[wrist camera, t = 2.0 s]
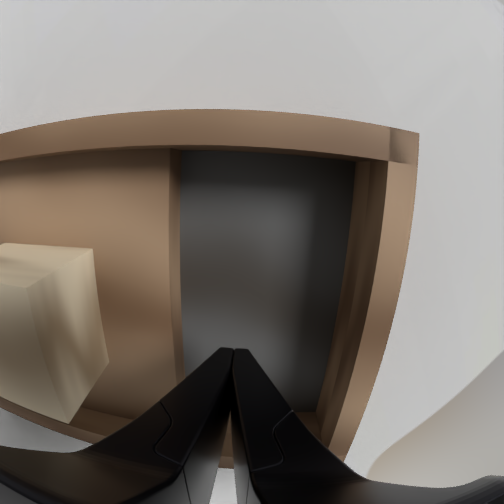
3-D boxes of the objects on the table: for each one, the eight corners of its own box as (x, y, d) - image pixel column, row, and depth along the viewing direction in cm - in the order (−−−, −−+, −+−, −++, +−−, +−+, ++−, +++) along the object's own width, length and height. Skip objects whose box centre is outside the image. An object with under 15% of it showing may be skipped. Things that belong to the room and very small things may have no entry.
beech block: (109, 362, 12) (68, 424, 8) (25, 342, 12) (-21, 385, 8) (92, 248, 10) (26, 287, 6) (5, 242, 10) (-58, 270, 6)
